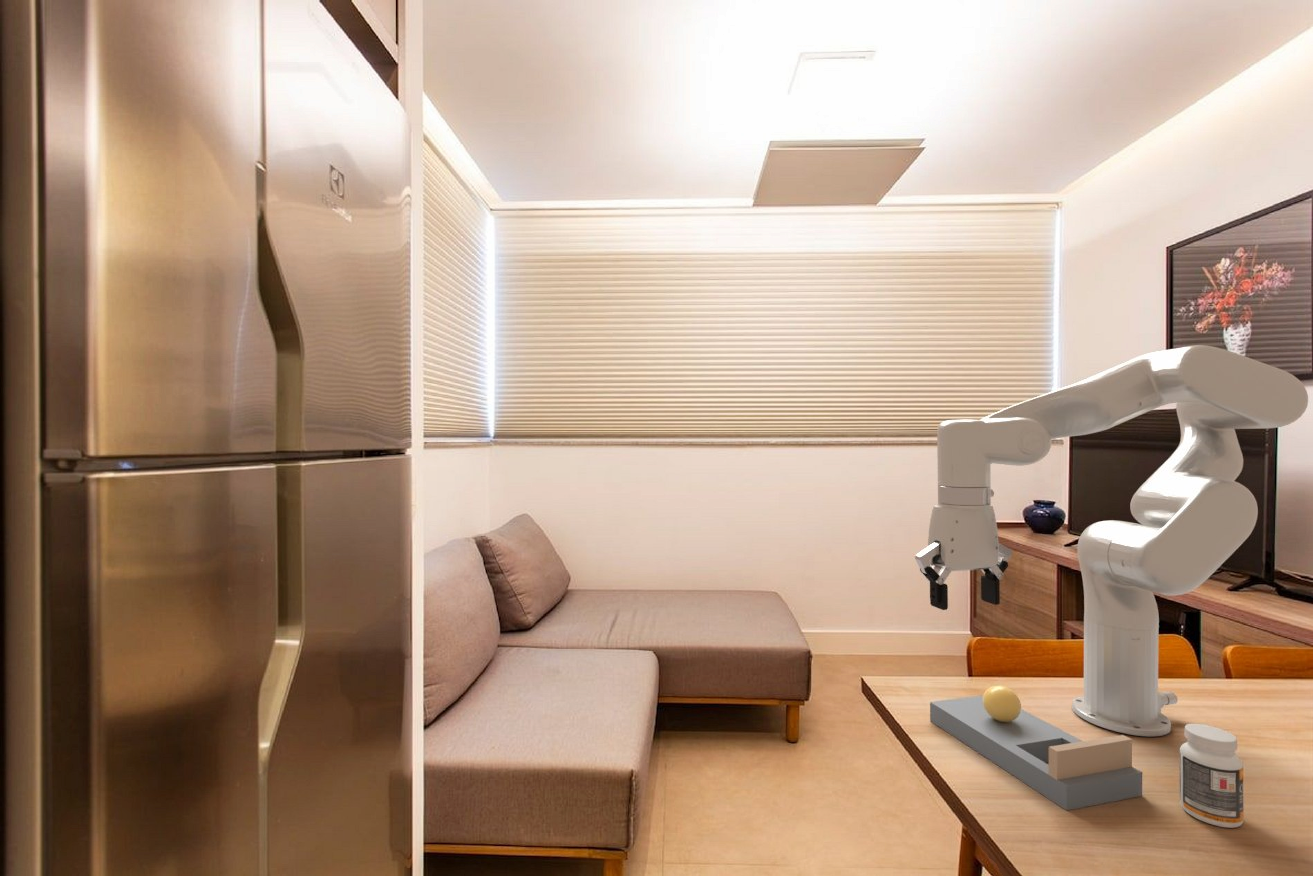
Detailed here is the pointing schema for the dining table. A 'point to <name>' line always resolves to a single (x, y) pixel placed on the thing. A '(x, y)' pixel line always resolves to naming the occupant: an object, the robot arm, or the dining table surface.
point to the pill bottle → (1211, 776)
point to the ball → (1001, 703)
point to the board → (1044, 754)
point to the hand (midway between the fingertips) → (964, 605)
